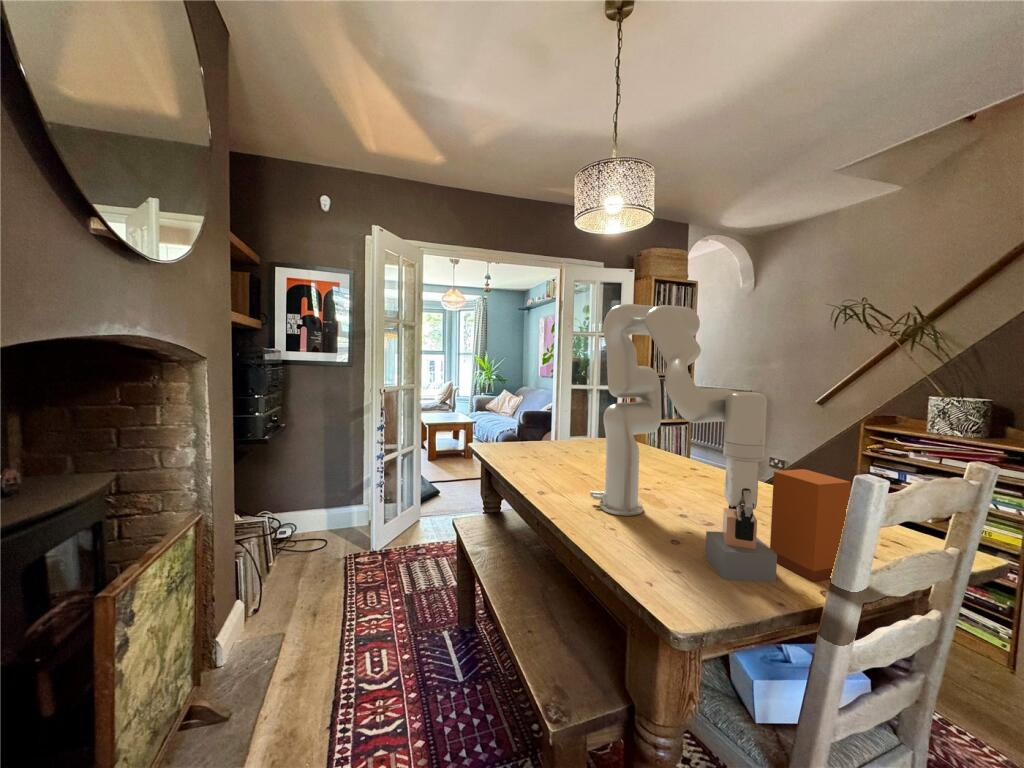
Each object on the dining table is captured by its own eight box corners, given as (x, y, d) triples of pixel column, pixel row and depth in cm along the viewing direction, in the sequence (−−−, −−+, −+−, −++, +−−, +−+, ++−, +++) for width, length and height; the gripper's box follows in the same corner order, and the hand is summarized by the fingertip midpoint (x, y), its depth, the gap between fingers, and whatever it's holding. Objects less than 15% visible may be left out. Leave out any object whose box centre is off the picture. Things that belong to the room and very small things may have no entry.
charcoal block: (723, 580, 83) (724, 551, 83) (705, 557, 93) (706, 531, 93) (775, 583, 82) (777, 554, 82) (751, 559, 92) (752, 533, 92)
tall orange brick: (847, 576, 85) (853, 481, 84) (813, 582, 82) (819, 484, 81) (801, 554, 95) (805, 468, 93) (769, 559, 92) (773, 471, 91)
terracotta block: (725, 544, 86) (727, 516, 86) (722, 534, 91) (723, 507, 91) (755, 549, 84) (757, 520, 84) (750, 538, 89) (752, 511, 89)
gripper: (718, 441, 96) (715, 513, 97) (729, 458, 79) (725, 544, 80) (755, 444, 93) (751, 518, 94) (774, 461, 77) (769, 551, 78)
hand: (739, 530), depth 87 cm, fingers open, 9 cm apart
